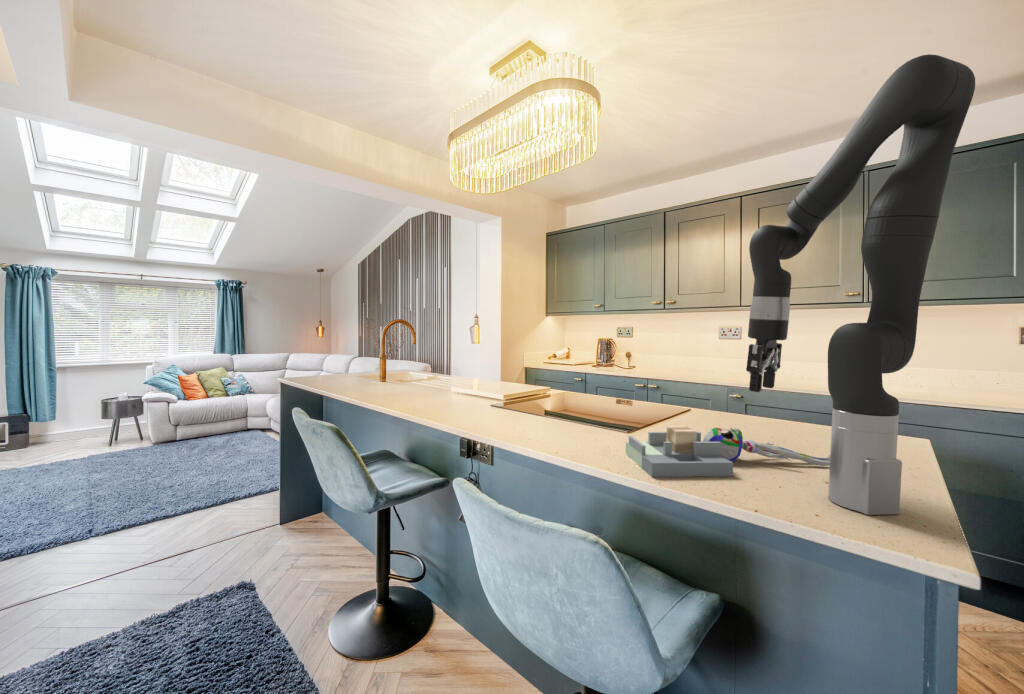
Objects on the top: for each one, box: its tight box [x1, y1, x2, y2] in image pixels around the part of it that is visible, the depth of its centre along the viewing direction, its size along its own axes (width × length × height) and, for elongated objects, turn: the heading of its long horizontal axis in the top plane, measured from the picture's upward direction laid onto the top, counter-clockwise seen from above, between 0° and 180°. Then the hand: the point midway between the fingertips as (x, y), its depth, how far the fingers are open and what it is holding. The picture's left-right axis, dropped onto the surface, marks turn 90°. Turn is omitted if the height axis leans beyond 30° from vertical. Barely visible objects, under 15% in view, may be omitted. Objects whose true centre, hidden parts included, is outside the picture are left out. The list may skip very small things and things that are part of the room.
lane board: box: [625, 431, 734, 478], centre depth 99 cm, size 17×18×6 cm
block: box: [665, 425, 698, 453], centre depth 100 cm, size 5×5×5 cm
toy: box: [702, 427, 830, 467], centre depth 101 cm, size 10×8×30 cm
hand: (761, 389), depth 95 cm, fingers open, 8 cm apart
